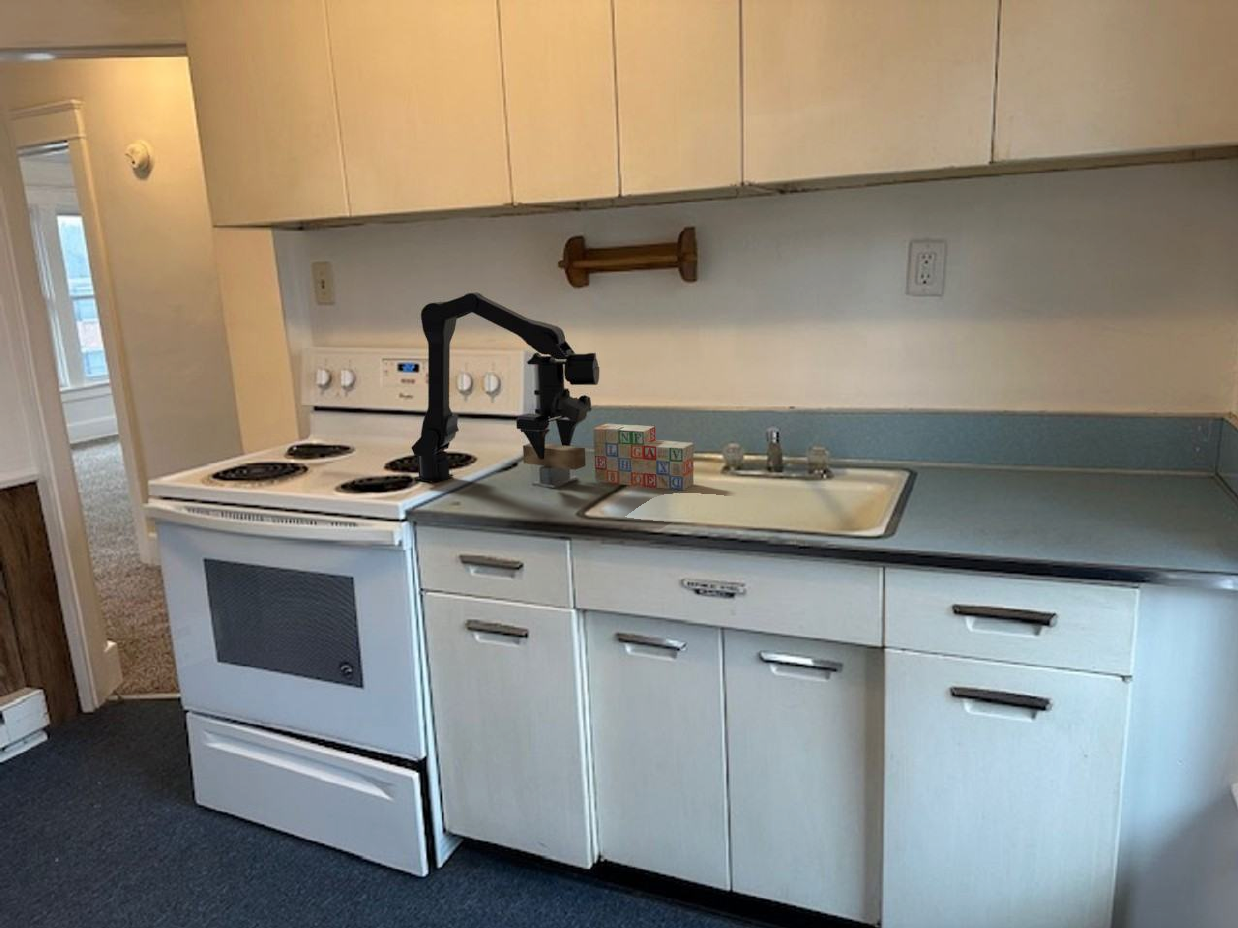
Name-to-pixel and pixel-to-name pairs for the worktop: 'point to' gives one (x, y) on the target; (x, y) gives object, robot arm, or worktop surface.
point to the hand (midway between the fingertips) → (554, 455)
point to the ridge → (554, 477)
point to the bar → (556, 456)
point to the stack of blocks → (641, 458)
